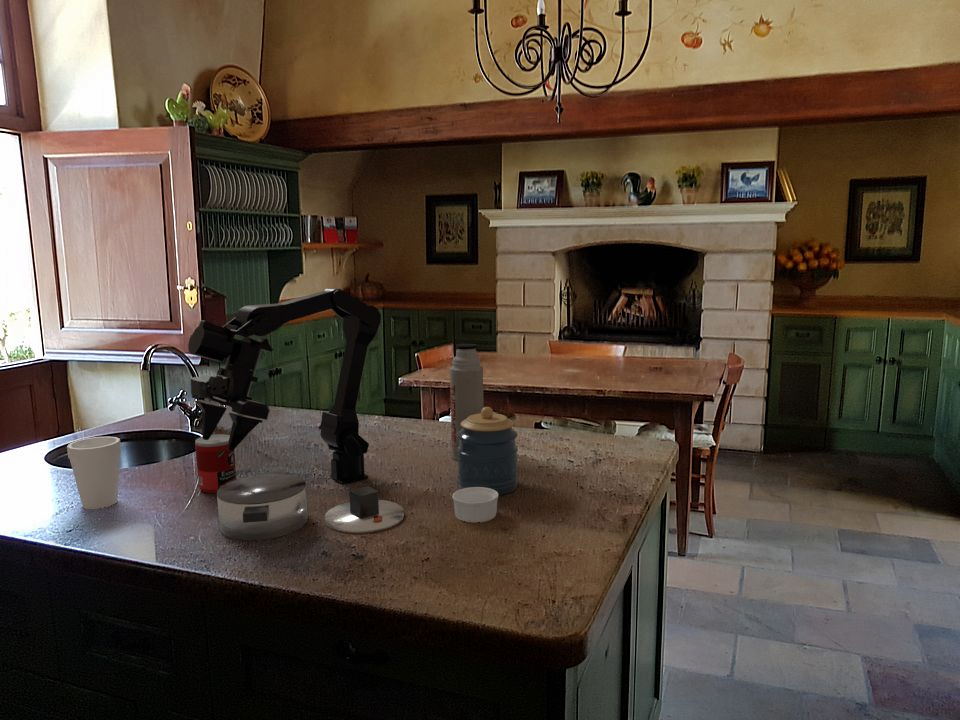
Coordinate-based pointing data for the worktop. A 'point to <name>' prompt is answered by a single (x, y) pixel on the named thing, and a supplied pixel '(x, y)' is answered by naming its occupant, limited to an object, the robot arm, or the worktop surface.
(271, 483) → the pot
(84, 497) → the foam cup
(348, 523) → the lid
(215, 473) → the canned food
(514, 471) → the canister
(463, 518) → the ramekin
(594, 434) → the worktop surface
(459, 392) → the thermos bottle
